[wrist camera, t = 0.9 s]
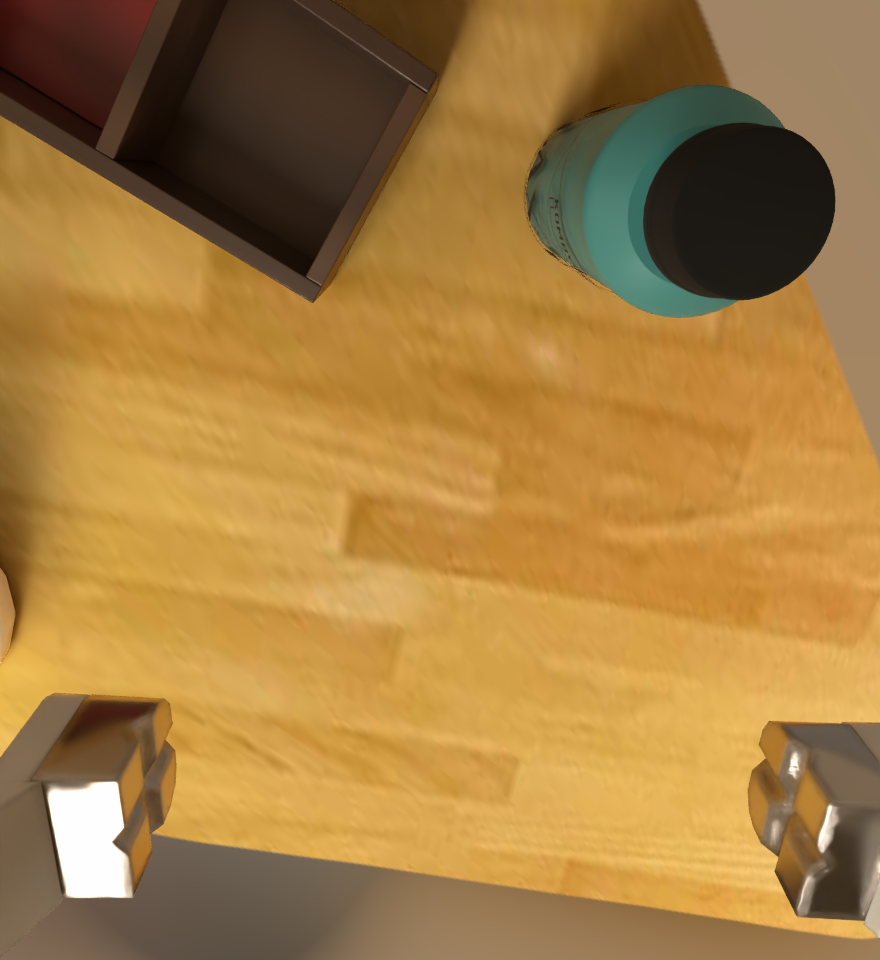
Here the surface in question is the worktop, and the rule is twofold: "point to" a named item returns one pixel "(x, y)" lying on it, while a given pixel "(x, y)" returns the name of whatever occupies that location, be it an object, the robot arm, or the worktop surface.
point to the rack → (223, 115)
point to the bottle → (5, 616)
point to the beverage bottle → (683, 200)
